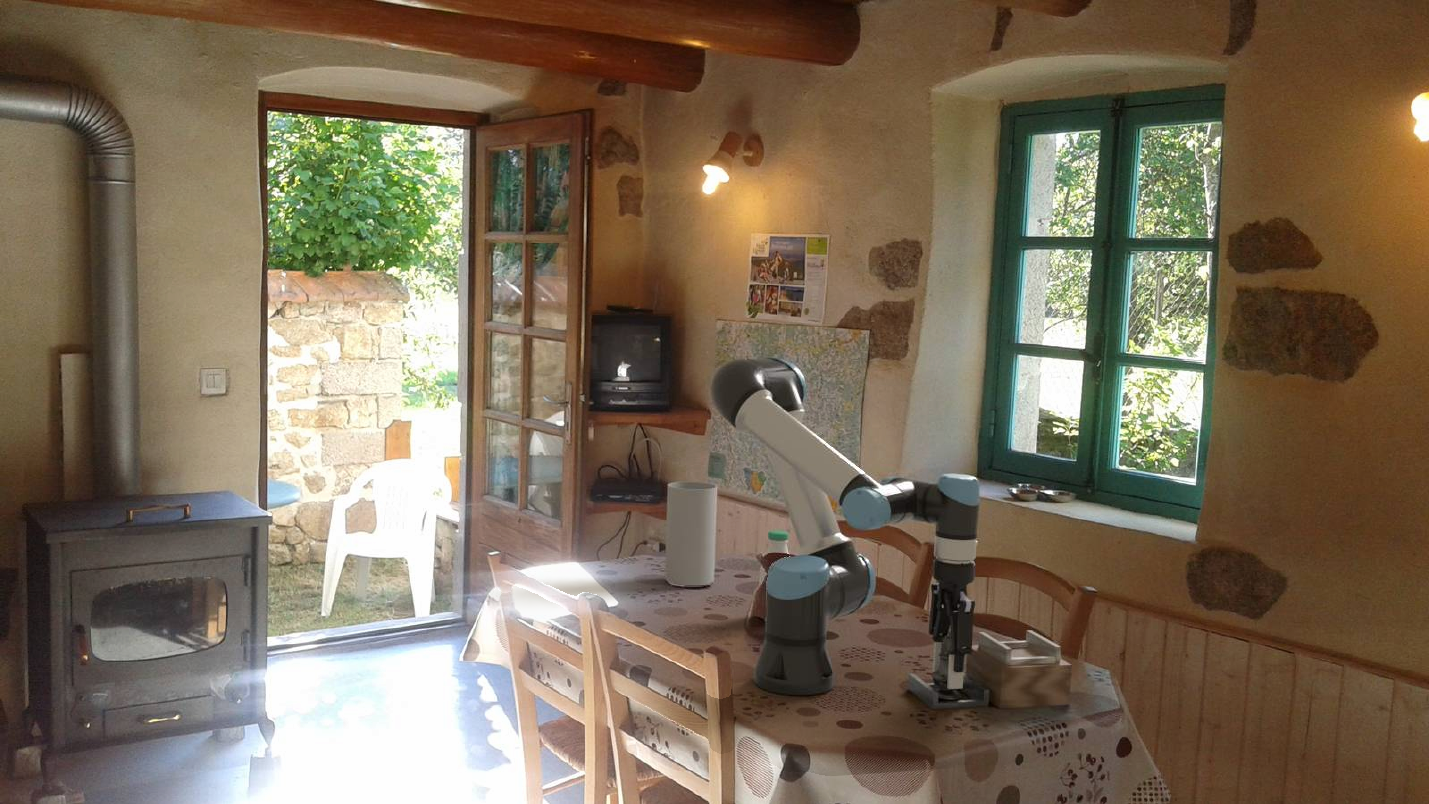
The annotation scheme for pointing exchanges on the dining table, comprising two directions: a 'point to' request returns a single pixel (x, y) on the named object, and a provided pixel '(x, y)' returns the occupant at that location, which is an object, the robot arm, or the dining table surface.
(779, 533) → the milk bottle
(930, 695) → the low socket
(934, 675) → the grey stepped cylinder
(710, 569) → the cylinder vase
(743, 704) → the dining table surface
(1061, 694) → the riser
